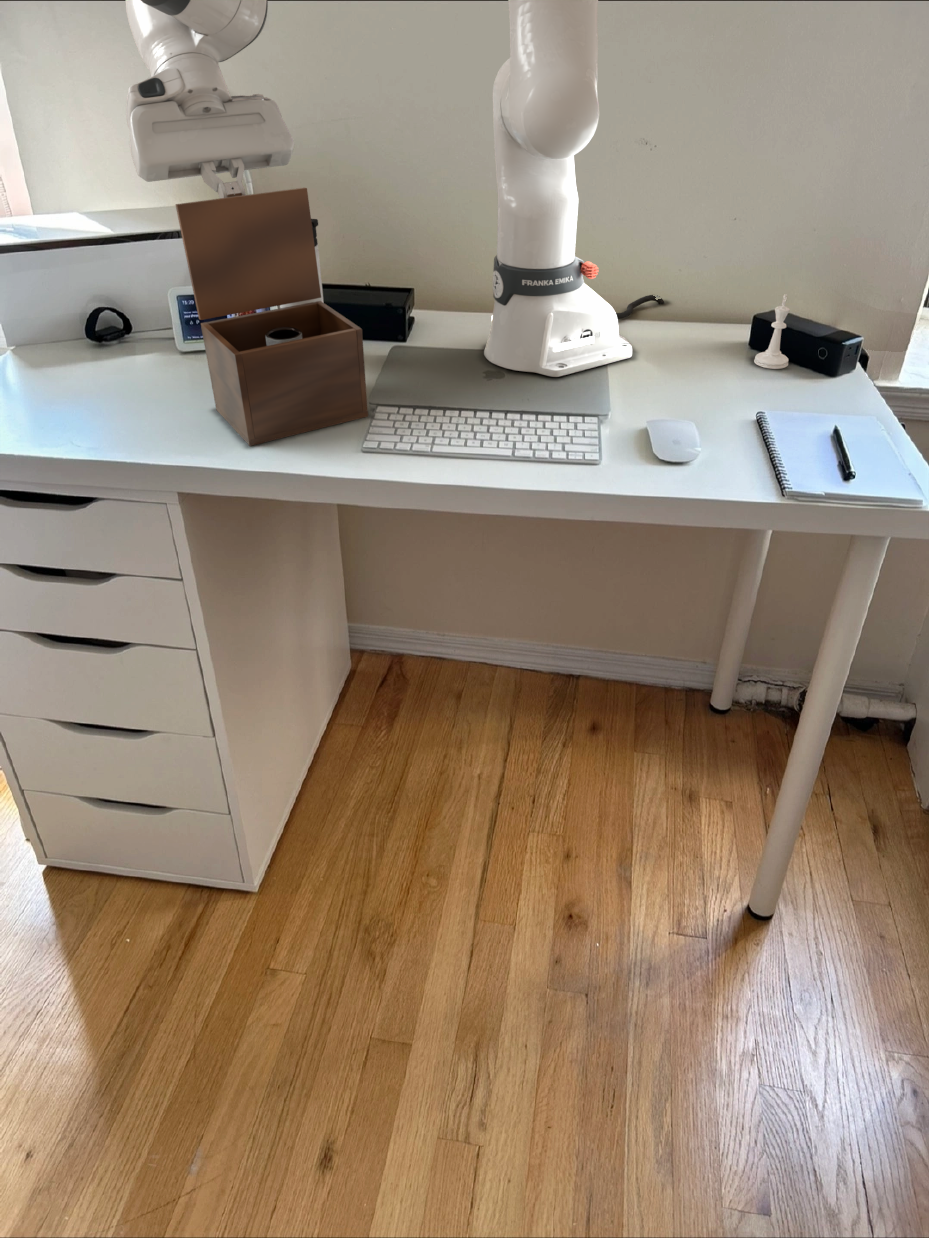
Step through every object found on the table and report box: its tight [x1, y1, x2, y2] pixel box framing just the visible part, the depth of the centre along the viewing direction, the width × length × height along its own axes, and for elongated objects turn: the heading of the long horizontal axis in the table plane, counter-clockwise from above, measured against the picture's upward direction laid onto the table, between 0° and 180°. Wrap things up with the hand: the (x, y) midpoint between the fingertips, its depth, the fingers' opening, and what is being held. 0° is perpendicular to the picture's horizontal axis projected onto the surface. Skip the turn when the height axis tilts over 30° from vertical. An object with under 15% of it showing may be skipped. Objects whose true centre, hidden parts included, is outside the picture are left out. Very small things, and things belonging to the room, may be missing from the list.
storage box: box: [200, 301, 369, 447], centre depth 117 cm, size 13×17×12 cm
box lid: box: [174, 187, 321, 321], centre depth 113 cm, size 13×17×1 cm
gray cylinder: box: [265, 327, 302, 346], centre depth 116 cm, size 4×4×10 cm
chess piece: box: [753, 293, 790, 370], centre depth 131 cm, size 5×5×10 cm
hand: (234, 199), depth 113 cm, fingers closed
